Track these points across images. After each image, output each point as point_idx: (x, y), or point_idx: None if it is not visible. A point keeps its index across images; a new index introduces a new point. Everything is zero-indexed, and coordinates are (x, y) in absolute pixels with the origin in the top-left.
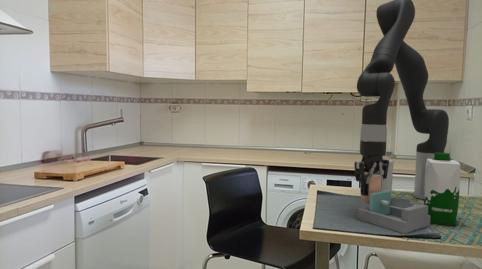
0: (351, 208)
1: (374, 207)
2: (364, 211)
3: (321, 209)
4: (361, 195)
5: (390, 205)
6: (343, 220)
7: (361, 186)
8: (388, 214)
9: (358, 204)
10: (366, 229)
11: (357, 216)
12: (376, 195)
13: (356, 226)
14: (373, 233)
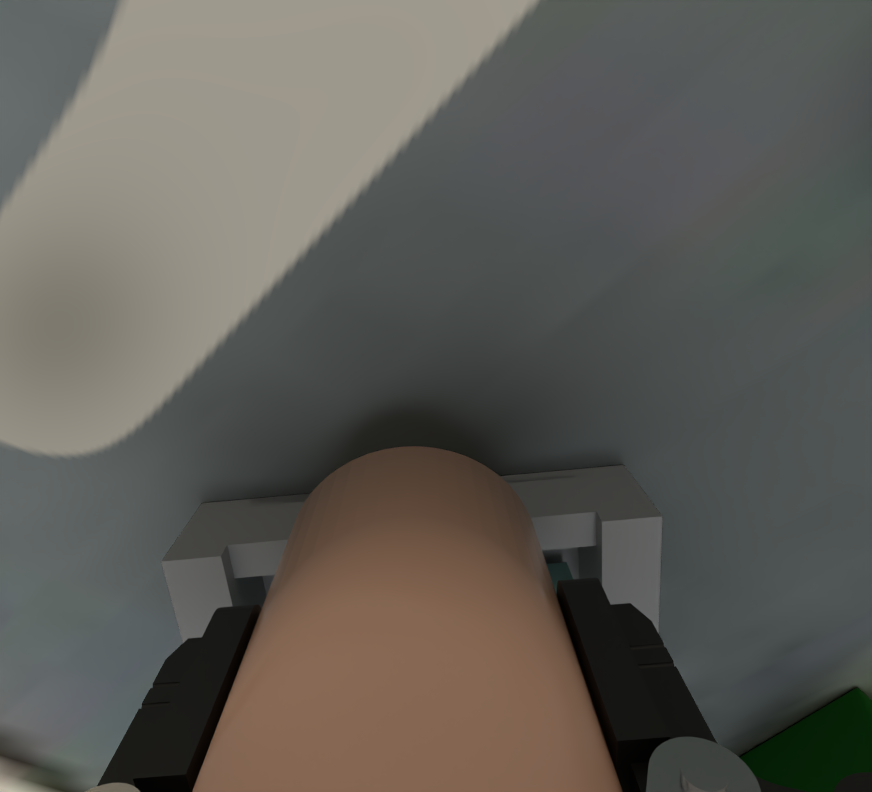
0: (444, 171)
1: None
2: (184, 635)
3: (12, 16)
4: (290, 543)
5: (651, 606)
6: (31, 481)
7: (123, 761)
8: (572, 569)
9: (699, 53)
10: (81, 714)
11: (193, 516)
12: None
13: (46, 640)
14: (73, 783)
